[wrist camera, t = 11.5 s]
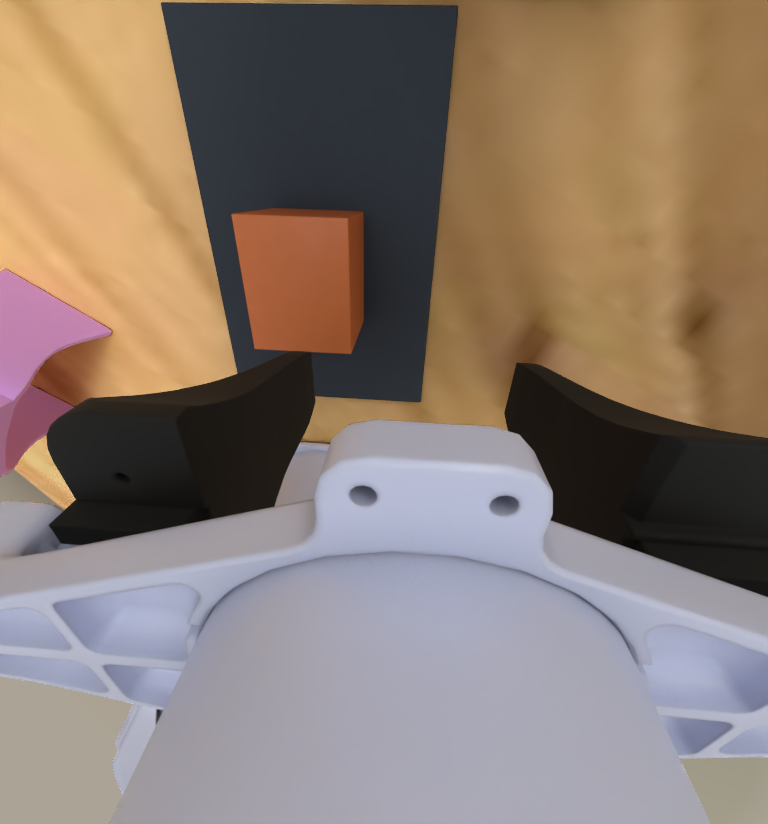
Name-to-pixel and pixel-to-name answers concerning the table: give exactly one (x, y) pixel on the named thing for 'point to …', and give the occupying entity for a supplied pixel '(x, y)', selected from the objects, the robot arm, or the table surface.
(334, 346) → the orange box
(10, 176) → the table surface
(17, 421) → the toy chair
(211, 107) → the back mat
